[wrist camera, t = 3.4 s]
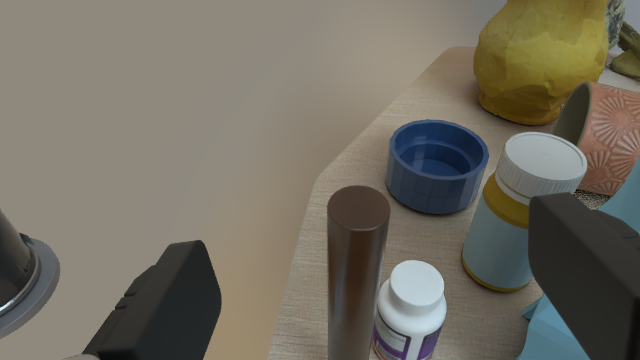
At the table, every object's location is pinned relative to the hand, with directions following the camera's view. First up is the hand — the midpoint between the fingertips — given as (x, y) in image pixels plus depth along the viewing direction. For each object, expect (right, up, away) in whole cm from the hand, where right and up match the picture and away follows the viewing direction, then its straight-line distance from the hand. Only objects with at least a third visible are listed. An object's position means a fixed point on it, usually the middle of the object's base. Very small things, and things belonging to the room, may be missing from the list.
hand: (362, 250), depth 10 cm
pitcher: (+31, +14, +56) cm, 66 cm away
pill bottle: (+6, -13, +27) cm, 31 cm away
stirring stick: (+1, -16, +24) cm, 29 cm away
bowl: (+13, +1, +42) cm, 44 cm away
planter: (+39, +4, +37) cm, 54 cm away
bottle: (+17, -7, +33) cm, 38 cm away
